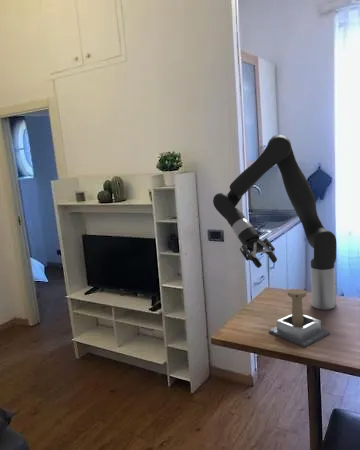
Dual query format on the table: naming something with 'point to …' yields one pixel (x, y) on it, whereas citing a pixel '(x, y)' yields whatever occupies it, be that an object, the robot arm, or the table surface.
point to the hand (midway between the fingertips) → (267, 264)
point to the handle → (297, 306)
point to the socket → (300, 330)
